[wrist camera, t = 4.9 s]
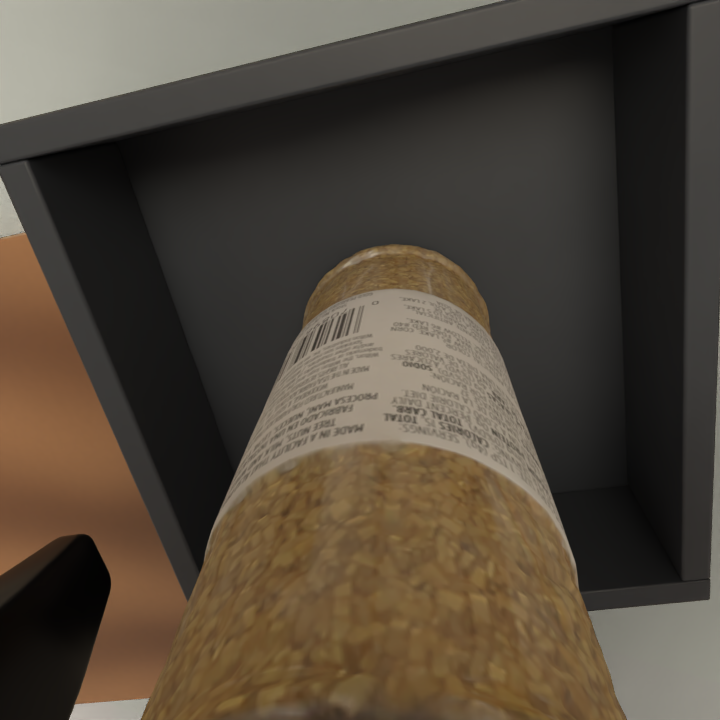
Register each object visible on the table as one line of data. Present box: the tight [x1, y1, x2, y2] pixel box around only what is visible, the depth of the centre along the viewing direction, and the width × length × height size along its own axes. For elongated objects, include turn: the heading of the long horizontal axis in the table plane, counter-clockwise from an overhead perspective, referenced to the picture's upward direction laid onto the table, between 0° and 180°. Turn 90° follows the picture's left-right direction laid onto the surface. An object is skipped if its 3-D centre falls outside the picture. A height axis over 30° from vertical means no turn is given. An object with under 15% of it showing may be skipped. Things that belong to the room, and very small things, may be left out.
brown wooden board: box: [0, 233, 188, 704], centre depth 18 cm, size 16×10×1 cm, turn 12°
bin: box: [0, 0, 720, 611], centre depth 13 cm, size 12×12×4 cm
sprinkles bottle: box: [141, 244, 627, 720], centre depth 9 cm, size 5×5×14 cm
